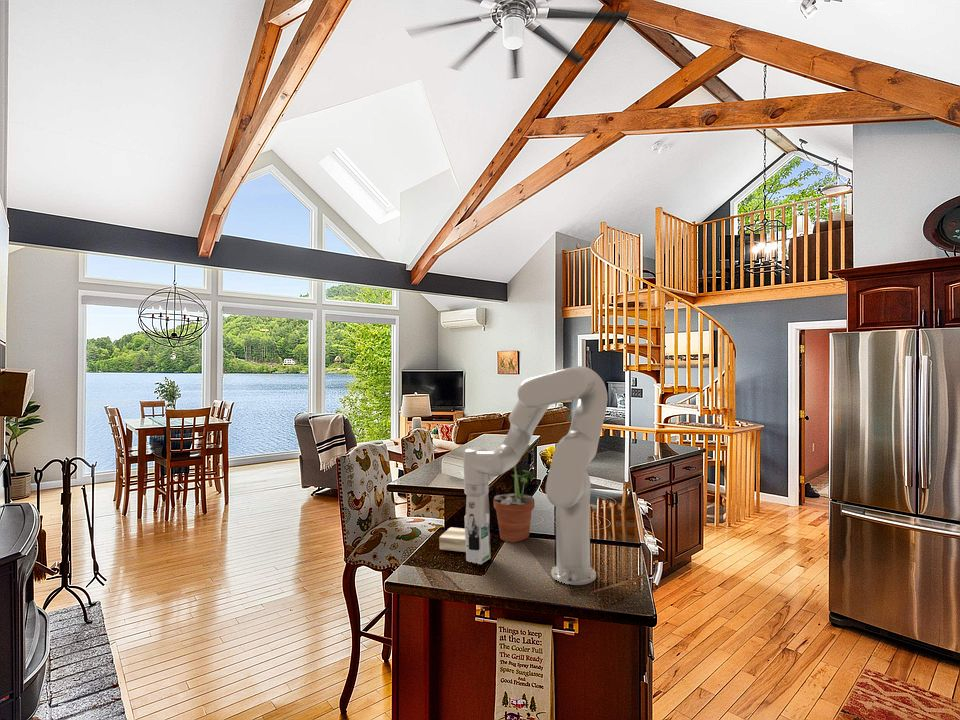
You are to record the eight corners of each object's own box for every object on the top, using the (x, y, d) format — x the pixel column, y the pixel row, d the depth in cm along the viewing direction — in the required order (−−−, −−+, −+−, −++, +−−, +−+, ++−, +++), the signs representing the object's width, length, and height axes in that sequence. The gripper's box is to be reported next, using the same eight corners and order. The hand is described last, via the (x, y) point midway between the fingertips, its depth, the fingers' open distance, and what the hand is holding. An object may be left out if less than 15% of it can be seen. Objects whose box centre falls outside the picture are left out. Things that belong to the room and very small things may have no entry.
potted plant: (545, 534, 182) (543, 435, 182) (518, 547, 171) (516, 441, 171) (511, 525, 193) (509, 431, 192) (483, 536, 182) (481, 437, 181)
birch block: (468, 552, 168) (467, 540, 168) (439, 549, 172) (439, 537, 171) (477, 541, 178) (477, 529, 178) (450, 538, 181) (450, 527, 181)
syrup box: (481, 565, 158) (480, 517, 158) (465, 561, 161) (464, 514, 161) (491, 558, 163) (489, 512, 163) (475, 554, 166) (474, 509, 166)
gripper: (479, 496, 152) (480, 557, 153) (495, 481, 169) (497, 536, 169) (455, 494, 155) (456, 554, 155) (473, 480, 171) (475, 534, 172)
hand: (477, 544), depth 162 cm, fingers closed on syrup box, 6 cm apart
